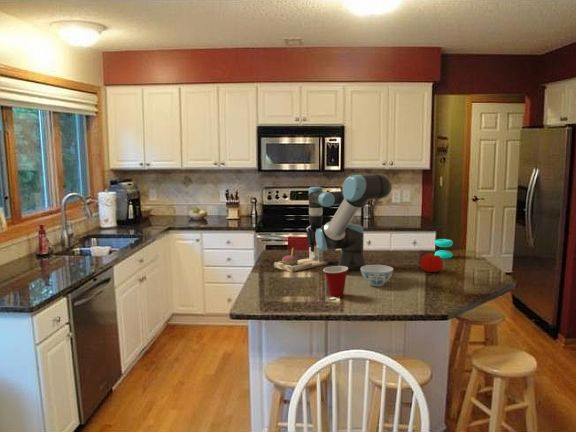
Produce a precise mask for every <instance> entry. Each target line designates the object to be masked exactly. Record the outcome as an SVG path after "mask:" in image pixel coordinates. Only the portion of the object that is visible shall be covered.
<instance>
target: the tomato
mask: <svg viewBox="0 0 576 432" xmlns="http://www.w3.org/2000/svg"><path fill="white" fill-rule="evenodd" d="M419 264H420V268H421V269H422V270H423V271H424V272H427V273H437V272H440V271H441V270H442V268H443V265H444V263H443V260H442V258H441V257H440V256H438V255H436V256H435V255H434V254H432V253H430V254H424V255H423V256H422V257H421V258H420V263H419Z"/></svg>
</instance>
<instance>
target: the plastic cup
mask: <svg viewBox="0 0 576 432" xmlns="http://www.w3.org/2000/svg"><path fill="white" fill-rule="evenodd" d="M348 270H349V269H348V267H346V266H338V265H332V266H328V267H324V268H323V270H322V271H323V272H324V275H325V278H326V285H327V289H328V294H329V296H330V297H333V298H334V297H338V298H339V297H342V296H343V295H344V290H345V285H346V279H347V275H348V274H347V273H348Z"/></svg>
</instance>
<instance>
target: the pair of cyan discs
mask: <svg viewBox="0 0 576 432" xmlns="http://www.w3.org/2000/svg"><path fill="white" fill-rule="evenodd" d="M434 244H435V246H437V247H440V248H450V247H452V246H453V244H454V242H453V240H452V239H447V238H438V239H436V240H434ZM433 255H434V256H436V255H438V256H440V257H441V260H442V259H444V260H445V259H447V260H448V259H451V258H452V257H453V256H454V255H453V253H452V251H449V250H445V249H444V250H443V249H442V250H441V249H439V250H436V251H435V253H434V254H433Z"/></svg>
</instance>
